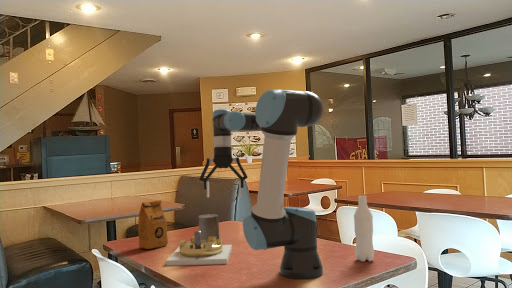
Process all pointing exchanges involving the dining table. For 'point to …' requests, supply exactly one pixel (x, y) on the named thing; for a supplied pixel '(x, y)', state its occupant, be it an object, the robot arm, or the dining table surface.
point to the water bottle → (363, 231)
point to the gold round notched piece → (200, 246)
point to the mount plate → (200, 258)
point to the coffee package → (152, 226)
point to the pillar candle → (209, 226)
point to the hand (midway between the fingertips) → (224, 196)
